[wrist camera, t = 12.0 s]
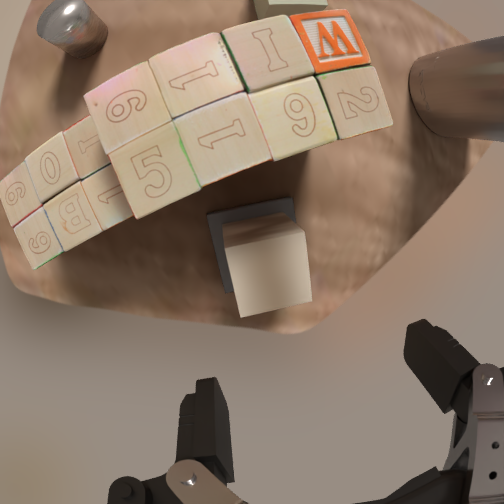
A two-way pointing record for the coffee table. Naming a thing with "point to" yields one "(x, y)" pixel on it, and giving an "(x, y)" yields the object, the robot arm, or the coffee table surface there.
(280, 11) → the sage green block
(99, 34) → the grey capsule
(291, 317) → the coffee table surface
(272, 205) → the charcoal pad
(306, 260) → the cream block
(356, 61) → the stack of blocks
